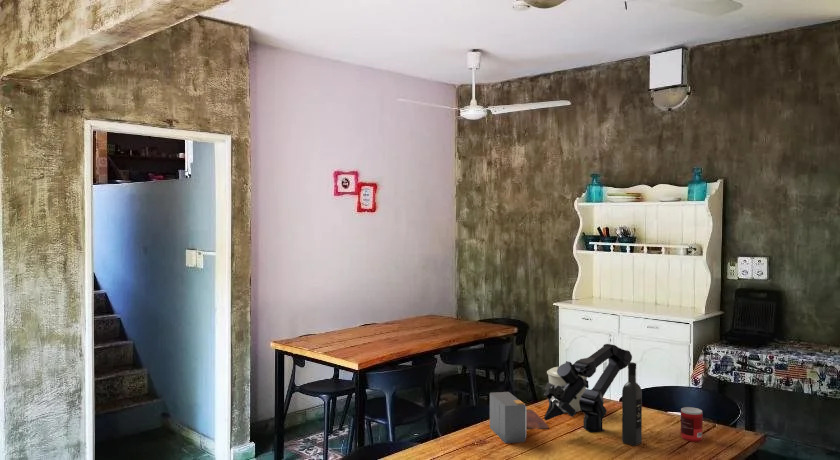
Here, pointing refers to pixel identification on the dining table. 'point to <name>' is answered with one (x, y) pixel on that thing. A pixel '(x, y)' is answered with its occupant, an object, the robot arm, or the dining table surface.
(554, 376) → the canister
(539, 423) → the wooden tablet
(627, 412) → the wine bottle
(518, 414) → the small drawer cabinet
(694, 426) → the canned food
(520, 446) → the dining table surface
